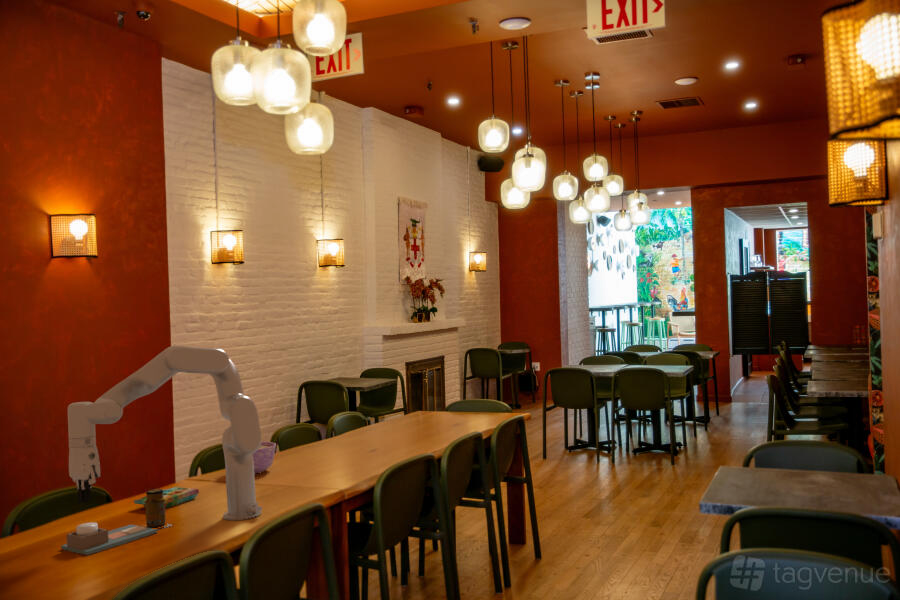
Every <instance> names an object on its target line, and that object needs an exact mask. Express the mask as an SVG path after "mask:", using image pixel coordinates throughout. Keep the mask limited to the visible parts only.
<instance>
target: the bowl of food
mask: <svg viewBox="0 0 900 600" xmlns="http://www.w3.org/2000/svg"><path fill="white" fill-rule="evenodd" d="M276 447H277V443H275V442H271V441H270V442H269V441H261V445H260V447H259V449H258V450H257V451H256V452H255V453H254V454H253V460H254V475H257V474H256V473H260V472H263V471H266V470H268V469H269V468H270V467H271V466H272V465H273V462H274V459H275V458H274V457H275V453H276ZM263 473H264V472H263ZM260 474H261V473H260Z"/></svg>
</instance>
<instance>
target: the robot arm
mask: <svg viewBox="0 0 900 600" xmlns="http://www.w3.org/2000/svg"><path fill="white" fill-rule="evenodd" d="M179 373H186V374H201V375H202V374H206V375H208V374H209V375H210V377H211V378H212V379H213V382H214V385H215V388H216V394H217V399H218V404H219V412H220V415H221V417H222V418H223V419H225V420H226V421H228V422H229V423H230V425H229V426H227V427H226V429H224V431H223V434H222V436H221V445H222V450H223V456H224V464H225V466H224V467H225V468H224V469H225V486H226V507H227V511H225V512H224V513H223V514H222V517H223V520H227V521H243V519H245V520H249V519H248V518H250V519H253V518H256V517H258V516H260V515H261V514H262V510H263V507H262V506H258V505H259V504H258V503H259V502H258V501H257V499H256V485H255V484H256V483H255V482H256V481H255V474H254V460H253V454H254V453H255V452H256V451H257V450H258V449H259V447H260V445H261V442H262V431H261V425H260V420H259V418H260V417H259V414H258V409H257V406H256V403H255V402H254V400H253V399H252V398H251V397H249V396H247V395H245V393H244V388H243V384H242V379H241V375H240V373H239V370H238V368H237V366H236V365H235V363H234V362H233V360H231V359H230V357H229V355H228V354H227V352H226V351H225V350H223V349H221V348H215V347H195V346H184V345H171V346H169V347H167V348H165V349H164V350H163V351H161V352H160V353H158V354H157V355H156V356H155V357H154V358H152V359H151V360H149V361H148V362H147V363H146V364H144V365H143V366H142V367H141V368H139V369H138V370H136V371H134V372H133V373H132V374H130V375H129V376H128V377H126V378H124V379H123V380H121V381H120V382H118V383H117V384H115V385H114V386H113V387H111V388H110V389H108V391H106V392H104V393H103V394H102V395H101V396H99V397H98V398H97V399H96V400H95V401H94V402H91V401H79V402H72V403H70V404H69V405H68V406H67V426H68V430H67V431H68V433H67V434H68V449H69V451H68V474H69V477H70V478H71V480H72V482H74V483H75V484H76V488H77V489H76V490H77V497H78V501H77V502H78V503H79V504H83V503H88V502H91V501H92V490H91V489H92V487H93V484H96V482H97V480H96V479H98V478H100V477H101V465H100V455H99V450H98V447H97V438H96V437H97V436H96V435H97V434H96V425H98V424H99V425H111V424H114V423H115V424H116V422H118V421H119V420H120V419H121V418H122V416H123V415H124V408H125V407H126V406H128V405H129V404H131V403H132V402H134V401H135V400H137V399H139V398H142V397H146V396H148V395H150V394H152V393H154V392H155V391H157V390H158V389H159V388H160V387H162V386H163V385H165V383H166V382H168V381H169V380H170V379H172V378H173V377H175V375H177V374H179ZM255 516H256V517H255ZM252 517H253V518H252Z"/></svg>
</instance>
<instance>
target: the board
mask: <svg viewBox="0 0 900 600" xmlns="http://www.w3.org/2000/svg"><path fill="white" fill-rule="evenodd" d="M142 526H143V525H138V524H137V525H136V524H127V525H125V526H122V527H118V528H115V529H114V528H113V529H111V530H108V529H106V528H105V529H104V528H102V527H98V532H97V533H93V534H90V535H87V536H83V537H82V536H78V535H77V534H76V531H72V532H69V533H66V543H65V544H63V545H61V546H60V548H61V549H64V550H63V551H66V550H68V551H67V552H70V551H72V552H71V553H74V552H76V553H75V554H78V553H81V554H80V555H82V554H85V555H84V556H86V555H88V556H90V555H89V554H91V555H93V554H92V553H94V554H96V553H95V552H97V553H100V552H103V551H102V550H104V551H106V550H105V549H107V550H109V548H110V549H113V548H116V547H118V546H121V545H124V544H128V543H131V542H133V540H134V541H137V540H140V539H143V538H146V536H147V537H149V535H150V536H152V535H151V534H153V535H155V534H154V533H156V534H158V530H157V529H152V528H147V527H142ZM142 537H143V538H142ZM139 538H140V539H139ZM130 541H131V542H130ZM127 542H128V543H127ZM115 546H116V547H115ZM112 547H113V548H112ZM99 551H100V552H99Z"/></svg>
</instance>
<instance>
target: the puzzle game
mask: <svg viewBox="0 0 900 600" xmlns="http://www.w3.org/2000/svg"><path fill="white" fill-rule="evenodd" d="M162 490H163V497H164V499H165V509H168V508H172V507H174V506H177V505H180V503H181V504H183V502H184V503H186V501H187V502H190V501H192V499H193V500H195V499H196V497H197V496H198V494H199V493H200V489H199V488H190V487H179V486H175V487H171V488H168V489H162ZM146 496H147V495H144V496H142V497H139V498H136V499H134V500H133V503H134V504H136V505H143V507H145V508H146V502H145V501H146V499H147V497H146ZM189 500H190V501H189Z"/></svg>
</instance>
